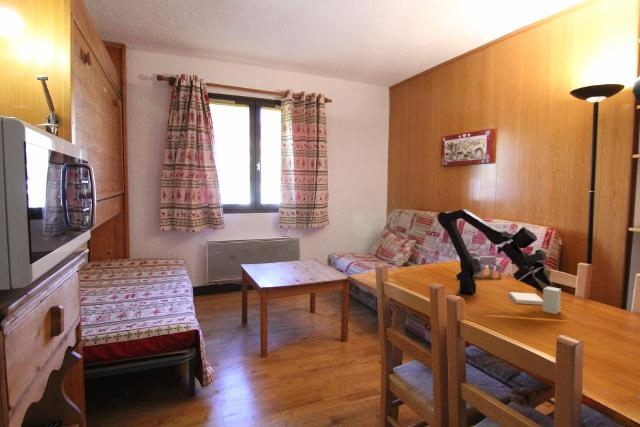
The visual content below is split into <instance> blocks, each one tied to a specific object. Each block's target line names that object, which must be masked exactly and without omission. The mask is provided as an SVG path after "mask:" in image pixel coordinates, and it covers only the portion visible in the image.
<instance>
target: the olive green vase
mask: <svg viewBox="0 0 640 427" xmlns="http://www.w3.org/2000/svg"><path fill="white" fill-rule="evenodd" d="M545 273H546V275H547V277H548V279H549V280H550V276H551V274H552V271H551V269H549V268H547V267H546V268H545ZM537 281H538V282H539V284H540V285H541V286H542V288H543V289H544V288H546V287H547V286H548V285H546V284H544V283H543V282H541V281H540V280H538V279H537ZM550 281H551V280H550ZM548 287H551V286H548ZM535 291H536V292H540V293H543V290H542V291H540V290H538V289H536V288H535Z"/></svg>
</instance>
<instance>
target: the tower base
mask: <svg viewBox="0 0 640 427" xmlns="http://www.w3.org/2000/svg"><path fill="white" fill-rule="evenodd" d="M506 296H507V297H508V299H510V301H512V303H513V304H514V305H523V306H525V305H528V306H538V307H539V306H540V307H541V306H542V307H543V305H537V304H521V303H516V302H515V301H514V300H513V299H512V298H511V296H510V294H506Z"/></svg>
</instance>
